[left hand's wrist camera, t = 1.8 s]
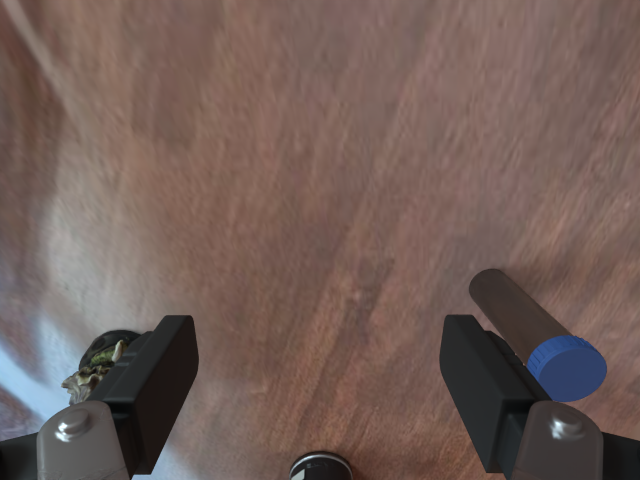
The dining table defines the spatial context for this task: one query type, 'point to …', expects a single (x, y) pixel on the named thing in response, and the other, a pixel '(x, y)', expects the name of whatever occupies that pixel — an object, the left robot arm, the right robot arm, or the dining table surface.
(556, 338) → the lid
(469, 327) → the left robot arm
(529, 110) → the dining table surface
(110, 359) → the figurine
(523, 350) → the brown cylinder
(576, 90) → the dining table surface
